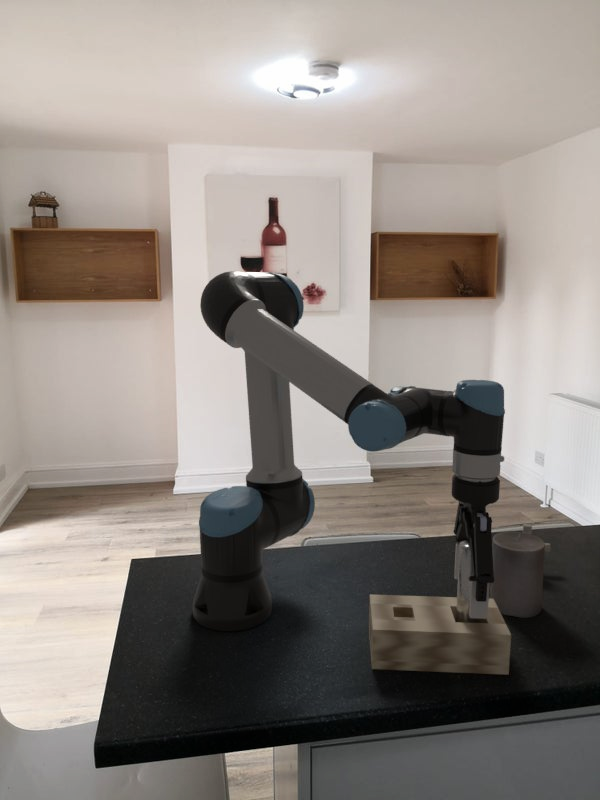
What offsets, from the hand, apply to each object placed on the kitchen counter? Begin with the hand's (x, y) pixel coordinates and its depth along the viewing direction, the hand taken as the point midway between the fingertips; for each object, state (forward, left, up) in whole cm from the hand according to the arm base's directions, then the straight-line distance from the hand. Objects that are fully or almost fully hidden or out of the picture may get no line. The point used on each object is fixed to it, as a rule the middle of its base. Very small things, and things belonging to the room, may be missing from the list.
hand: (469, 596), depth 106 cm
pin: (0, 0, -9) cm, 9 cm away
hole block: (-6, 0, -10) cm, 12 cm away
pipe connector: (+20, +35, -10) cm, 41 cm away
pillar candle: (+12, +17, -10) cm, 24 cm away
